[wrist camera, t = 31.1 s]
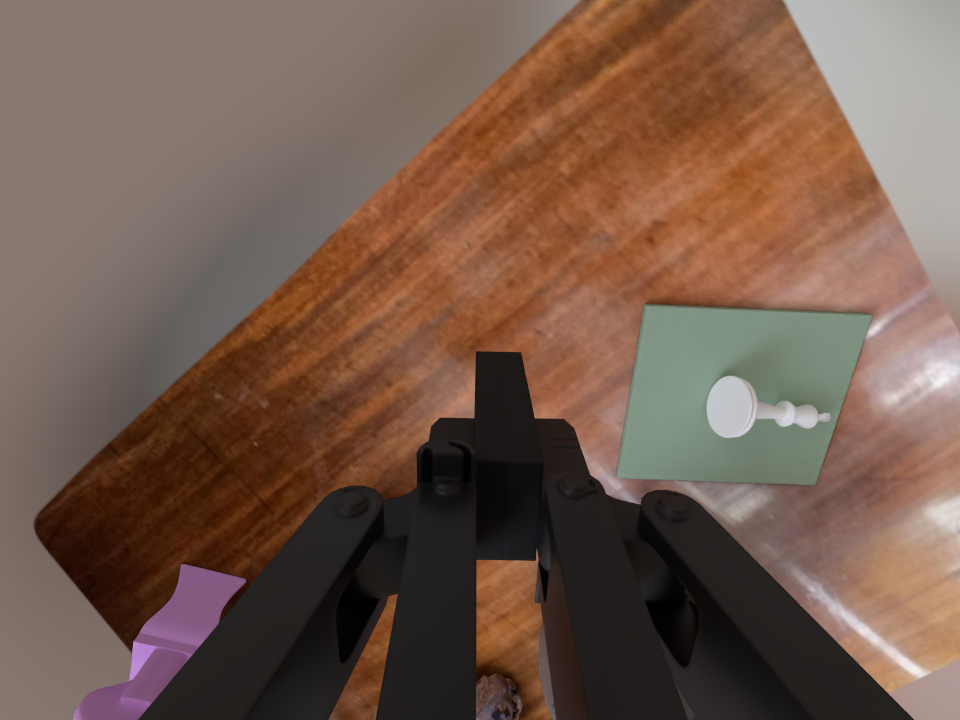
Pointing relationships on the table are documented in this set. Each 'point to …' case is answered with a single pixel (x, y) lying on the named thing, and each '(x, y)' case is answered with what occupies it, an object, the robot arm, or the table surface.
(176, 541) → the table surface
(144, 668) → the toy chair
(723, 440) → the mat
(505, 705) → the purple rounded piece
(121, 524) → the table surface
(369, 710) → the table surface
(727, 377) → the chess piece
